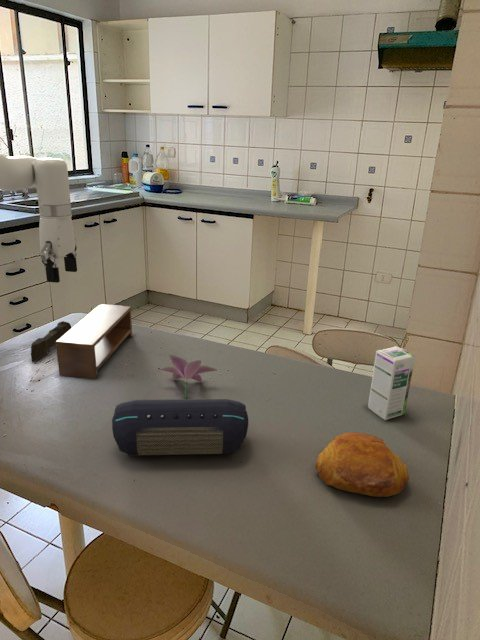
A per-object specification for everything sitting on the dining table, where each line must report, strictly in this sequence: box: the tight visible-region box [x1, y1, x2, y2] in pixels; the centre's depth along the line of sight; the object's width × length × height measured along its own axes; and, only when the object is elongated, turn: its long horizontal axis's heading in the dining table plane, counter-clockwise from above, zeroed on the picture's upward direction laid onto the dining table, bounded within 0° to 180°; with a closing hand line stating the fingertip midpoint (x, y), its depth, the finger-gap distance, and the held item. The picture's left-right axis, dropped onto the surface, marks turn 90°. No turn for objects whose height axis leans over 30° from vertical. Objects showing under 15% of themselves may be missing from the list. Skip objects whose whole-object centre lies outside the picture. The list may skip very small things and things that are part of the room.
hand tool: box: [30, 320, 72, 363], centre depth 124 cm, size 19×4×5 cm, turn 172°
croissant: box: [314, 431, 410, 498], centre depth 82 cm, size 14×16×8 cm
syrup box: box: [367, 345, 416, 421], centre depth 100 cm, size 6×6×14 cm
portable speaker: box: [111, 398, 249, 456], centre depth 86 cm, size 25×10×10 cm, turn 95°
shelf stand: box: [55, 303, 133, 380], centre depth 121 cm, size 9×26×9 cm, turn 173°
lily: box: [159, 354, 218, 399], centre depth 106 cm, size 12×12×10 cm
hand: (62, 276), depth 122 cm, fingers open, 9 cm apart
